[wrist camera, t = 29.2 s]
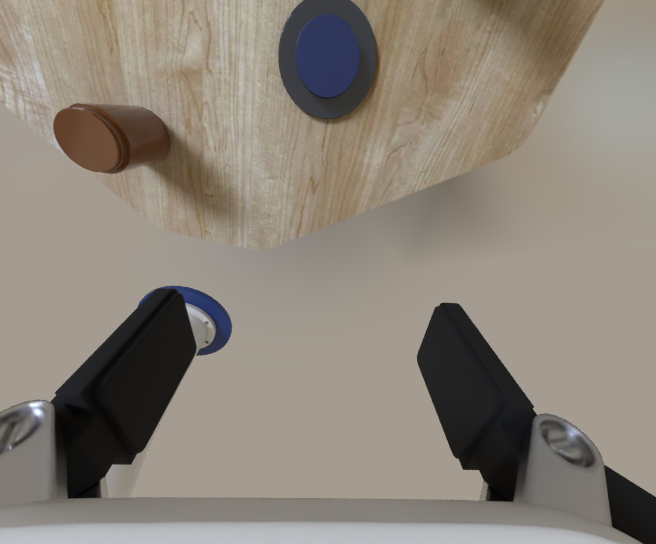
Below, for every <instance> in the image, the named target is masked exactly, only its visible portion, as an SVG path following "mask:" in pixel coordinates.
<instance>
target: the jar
mask: <svg viewBox="0 0 656 544" xmlns="http://www.w3.org/2000/svg"><path fill="white" fill-rule="evenodd" d="M53 129H54V134H55V137H56V140H57V142H58V144H59V145H60V147H61V148H62V150H63V151H64V152H65V154H66V155H67V156H68V157H69V158H70V159H71V160H73V161H74V162H75V163H76V164H78V165H80V166H81V167H83V168H85V169H88V170H91V171H95V172H103V173H110V174H113V173H119V172H123V171H126V170H130V169H134V168H137V167H141V166H144V165H148V164H152V163H155V162H159V161H161V160H163V159H164V158H165V157H166V156H167V155H168V153H169V150H170V137H169V134H168V131H167V129H166V127H165V125H164V124H163V122H162V121H161V120H160V119H159V118H158V117H157V116H156V115H155V114H154V113H152V112H151V111H149V110H148V109H146V108H143V107H139V106H127V105H109V104H91V103H77V104H73V105H71V106H69V107H68V108H65V109H63V110H61V111H60V112H58V113H57V115H56V116H55V118H54V123H53Z"/></svg>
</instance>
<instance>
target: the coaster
mask: <svg viewBox="0 0 656 544" xmlns="http://www.w3.org/2000/svg"><path fill="white" fill-rule="evenodd" d="M325 14H330V15H335V16H338V17H339V18H341V19H343V20H344V21H345V22H346V23H347V24H348V25H349V26H350V27H351V29H352V30H353V32H354V34H355V36H356V38H357V42H358V46H359V54H360V56H359V67H358V71H357V73H356V77H355V78H354V80H353V82H352V83H351V84H352V85H351V86H349V87H348V88H347V89H346V92H343V93H342V94H340V95H339V96H338V97H337V96H336V97H333V98H331V99H330V98H323V99H322V97H318V96H315V95H314V94H313V93H311V92H310V91H308V89H307V88H306V86H305V85H304V84H303V83H302V80H301V78H300V76H299V75H298V71H297V67H296V64H295V63H296V60H295V51H296V45H297V41H298V38H299V35H300V33H301V31H302V30H303V28H304V27H305V26H306V24H307V23H308V22H309V21H311V20H312V19H313V18H315V17H317V16H320V15H325ZM278 55H279V68H280V73H281V77H282V80H283V83H284V86H285V88H286V90H287V92H288V94H289V95H290V97H291V98H292V100H293V101H294V102H295V103H296V104H297V105H298V106H299V107H300V108H301V109H302V110H303V111H305V112H306V113H308V114H310V115H312V116H315V117H318V118H323V119H332V118H337V117H340V116H343V115H345V114H347V113H349V112H350V111H352V110H353V109H354V108H355V107H356V106H357V105H358V104H359V103H360V102H361V101H362V99H363V98H364V97H365V95H366V93H367V92H368V90H369V87H370V85H371V83H372V80H373V76H374V72H375V65H376V46H375V40H374V36H373V33H372V29H371V27H370V25H369V22H368V20H367V19H366V17H365V15H364V14H363V12H362V11H361V10H360V9H359V8H358V7H357V6H356V5H355V4H354V3H353V2H352V1H350V0H304V1H303V2H301V3H300V4H299V5H298V6H297V7H296V8H295V9H294V10H293V12H292V13H291V14H290V16H289V18H288V19H287V21H286V23H285V26H284V28H283V31H282V34H281V38H280V43H279V54H278Z"/></svg>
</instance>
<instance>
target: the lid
mask: <svg viewBox="0 0 656 544" xmlns="http://www.w3.org/2000/svg"><path fill="white" fill-rule="evenodd" d="M359 56H360V54H359V46H358V42H357V38H356V36H355V34H354V32H353V30H352V29H351V27H350V26H349V25H348V24H347V23H346V22H345V21H344V20H343V19H341V18H339V17H338V16H335V15H330V14H325V15H320V16H317V17H315V18H313V19H312V20H311V21H309V22H308V23H307V24H306V26H305V27H304V28H303V30H302V31H301V33H300V35H299V38H298V41H297V45H296V51H295V60H296V63H295V64H296V67H297V71H298V75H299V76H300V78H301V80H302V83H303V84H304V85H305V86H306V88H307V89H308V91H310V92H311V93H313V94H314V95H315V96H318V97H322V99H323V98H330V99H331V98H333V97H336V96H337V97H338V96H339V95H340V94H342V93H343V92H346V89H347V88H348V87H349V86H351V85H352V84H351V83H352V82H353V80H354V78H355V77H356V73H357V71H358V67H359Z"/></svg>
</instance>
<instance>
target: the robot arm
mask: <svg viewBox="0 0 656 544" xmlns="http://www.w3.org/2000/svg"><path fill="white" fill-rule="evenodd" d="M215 334H216V326H215V323H214V321H213V320H212V318H211V317H210V316H209V315H208V314H207V313H206V312H205V311H203V310H202V309H200V308H199V307H197V306H195V305H192V304H189V303H185V301H184V297H183V295H182V294H181V293H178V291H177V290H176V289H167V288H158V289H156V290H154V291H153V292H152V293H151V294H150V295H149V296H148V297H147V298H146V300H145V301H144V302H143V303H142V304H141V305H140V306H139V307H138V308H137V309H136V310H135V311H134V312H133V313H132V314H131V315H130V316H129V317H128V318H127V319H126V320H125V321H124V322H123V323H122V324H121V325H120V326H119V327H118V328H117V329H116V330H115V331H114V332H113V334H112V335H111V336H110V337H109V338H108V339H107V340H106V341H105V342H104V343H103V344H102V345H101V346H100V347H99V348H98V349H97V350H96V351H95V352H94V353H93V354H92V355H91V356H90V357H89V358H88V359H87V360H86V361H85V363H83V365H81V367H80V368H79V369H78V370H77V371H76V372H75V373H74V374H73V375H72V376H71V377H70V378H69V379H68V380H67V381H66V382H65V383H64V384H63V385H62V386H61V387H60V388H59V389H58V390H57V391H56V392H55V394H56V396H55V397H54V398H53V400H52V401H51V402H48V401H46V400H32V401H26V402H23V403H20V404H17V405H14V406H12V407H10V408H8V409H5V410H3V411H1V412H0V544H656V497H655V496H653V495H652V494H650V493H648V492H647V491H645V490H643V489H642V488H640V487H639V486H637V485H636V484H634V483H632V482H631V481H629V480H627V479H626V478H624V477H623V476H621V475H620V474H618V473H616V472H615V471H613V470H612V469H610V468H609V467H607V466H605V465H604V463H603V460H602V457H601V454H600V452H599V451H598V449H597V447H596V446H595V444H594V443H593V442H592V441H591V440H590V439H589V438H588V436H586V434H584V433H583V432H582V431H581V430H580V429H578V428H577V427H576V426H574V425H573V424H571V423H570V422H568V421H567V420H565V419H562V418H560V417H558V416H556V415H551V414H539V415H537V414H536V413H535V412H534V410H533V407H534V406H533V405H532V403H531V402H530V400H529V399H528V398H527V396H526V395H525V394H524V392H523V391H522V390H521V388H520V387H519V385H518V384H517V383H516V381H515V380H514V378H513V377H512V376H511V375H510V373H509V372H508V371H507V369H506V367H505V366H504V365H503V363H502V362H501V361H500V359H499V358H498V357H497V355H496V354H495V352H494V351H493V350H492V348H491V347H490V346H489V344H488V343H487V342H486V340H485V339H484V337H483V336H482V335H481V333H480V332H479V330H478V329H477V328H476V326H475V325H474V324H473V322H472V321H471V319H470V318H469V317H468V315H467V314H466V313H465V311H464V310H463V309H462V307H461V306H460V305H459V304H457V303H441V304H440V305H439V306H437V307H436V308H435V309H434V312H433V314H432V317H431V320H430V322H429V325H428V328H427V330H426V333H425V336H424V338H423V341H422V344H421V346H420V349H419V351H418V355H417V361H418V365H419V368H420V371H421V373H422V376H423V378H424V381H425V384H426V386H427V389H428V391H429V394H430V397H431V399H432V402H433V404H434V407H435V409H436V412H437V415H438V417H439V420H440V422H441V425H442V428H443V430H444V433H445V436H446V438H447V441H448V443H449V446H450V449H451V451H452V453H453V455H454V457H456V458H458V459H459V461H460V463H461V466H462V468H463V470H479V471H480V473H481V475H482V477H483V479H484V482H483V487H482V491H481V495H480V500H479V501H470V500H422V499H414V500H413V499H339V498H337V499H335V498H331V499H330V498H152V497H151V498H150V497H149V498H148V497H146V498H143V497H141V498H139V497H138V498H130V496H131V493H132V491H133V488H134V486H135V483H136V481H137V478H138V475H139V472H140V469H141V467H142V464H143V461H144V459H145V456H146V453H147V451H148V448H149V446H150V444H151V441H152V439H153V437H154V435H155V433H156V431H157V428H158V427H159V425H160V422H161V421H162V419H163V417H164V415H165V413H166V411H167V409H168V407H169V405H170V403H171V402H172V400H173V398H174V396H175V394H176V392H177V390H178V388H179V386H180V385H181V382H182V381H183V379H184V377H185V375H186V373H187V371H188V370H189V368H190V366H191V364H192V362H193V360H194V358H195V356H196V355H197V353H198V351H199V349H201V348H204V347H206V346H208V345H209V344H210V343H211V342H212V341H213V339H214V337H215Z"/></svg>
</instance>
